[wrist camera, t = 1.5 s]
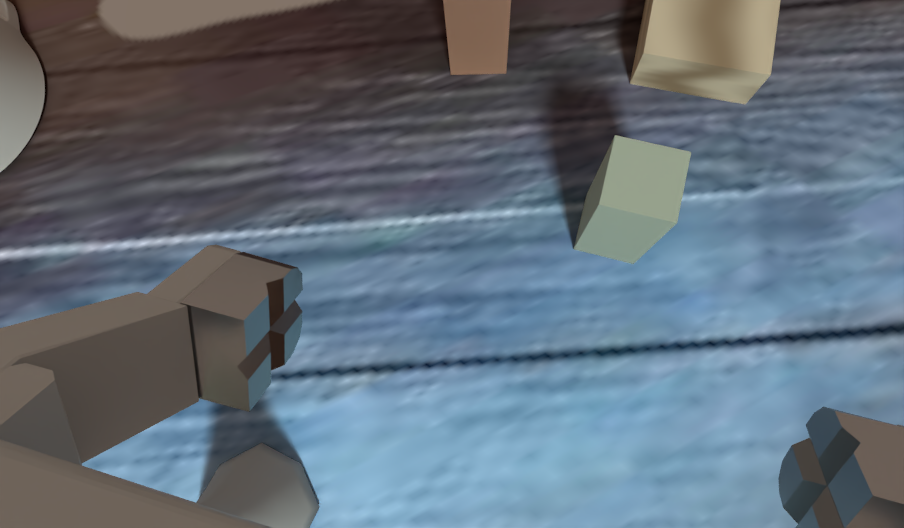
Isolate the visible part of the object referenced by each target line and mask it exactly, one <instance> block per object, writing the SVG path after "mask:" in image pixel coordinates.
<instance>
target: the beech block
mask: <svg viewBox="0 0 904 528" xmlns="http://www.w3.org/2000/svg"><path fill="white" fill-rule="evenodd" d="M779 7H780V0H645V6H644V11H643V16H642V22H641V27H640V32H639V38H638V43H637V48H636V53H635V59H634V64H633V69H632V75H631V80H630V84H634V85H640V86H645V87H651V88H657V89H662V90H668V91H673V92H679V93H684V94H690V95H696V96H701V97H707V98H712V99H718V100H723V101H729V102H735V103H740V104H746V103H747V102H748V101H749V100H750V98H751V97H752V96H753V95H754V94H755V93H756V91H757V90H758V89H759V88H760V87H761V86H762V84H763V83H764V82H765V81H766V80H767V79H768V78H769V76H770V75H771V68H772V61H773V53H774V45H775V38H776V30H777V22H778V15H779Z"/></svg>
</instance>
